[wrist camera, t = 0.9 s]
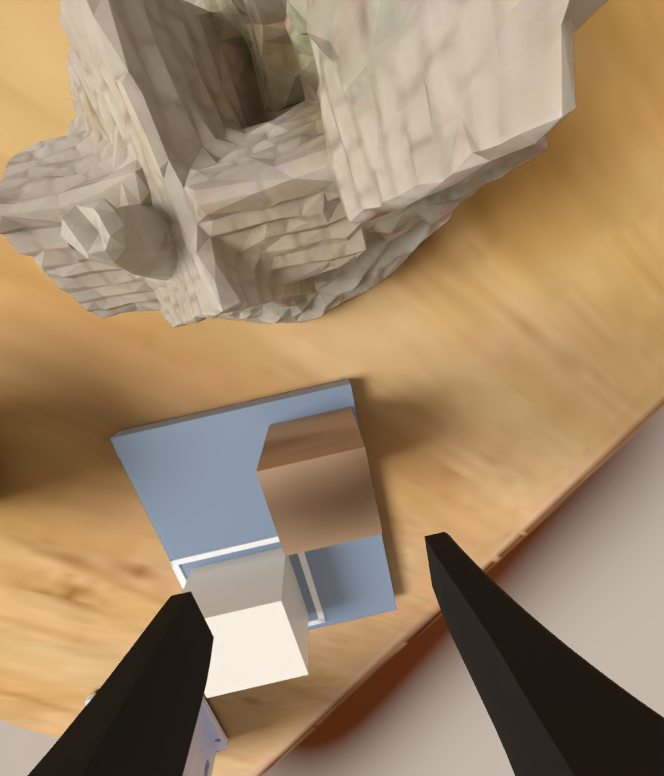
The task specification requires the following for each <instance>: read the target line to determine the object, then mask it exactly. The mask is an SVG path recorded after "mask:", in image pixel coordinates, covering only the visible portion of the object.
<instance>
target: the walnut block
mask: <svg viewBox="0 0 664 776" xmlns="http://www.w3.org/2000/svg"><path fill="white" fill-rule="evenodd" d="M256 473H257V476H258V479H259V482H260V485H261V488H262V491H263V494H264V497H265V500H266V502H267V505H268V508H269V511H270V514H271V517H272V520H273V523H274V526H275V529H276V532H277V535H278V538H279V541H280V543H281V546H282V549H283V552H284V555H285V556H288V555H293V554H297V553H301V552H306V551H310V550H314V549H319V548H323V547H327V546H332V545H336V544H340V543H345V542H349V541H353V540H358V539H362V538H366V537H371V536H375V535H379V534H383V532H382V527H381V522H380V517H379V513H378V508H377V503H376V498H375V493H374V488H373V483H372V478H371V473H370V468H369V463H368V458H367V454H366V449H365V445H364V442H363V440H362V437H361V434H360V431H359V428H358V426H357V423H356V420H355V417H354V415H353V412H352V409H351V406H350V407H345V408H341V409H337V410H332V411H328V412H324V413H319V414H315V415H310V416H306V417H302V418H297V419H293V420H288V421H284V422H280V423H275V424H271V425H269V427H268V431H267V435H266V438H265V442H264V445H263V449H262V452H261V456H260V459H259V463H258V467H257V470H256Z"/></svg>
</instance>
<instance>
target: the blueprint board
mask: <svg viewBox="0 0 664 776" xmlns="http://www.w3.org/2000/svg"><path fill="white" fill-rule="evenodd" d="M350 406H351V409H352V412H353V415H354V417H355V420H356V423H357V426H358V428H359V431H360V427H359V422H358V417H357V413H356V408H355V403H354V398H353V393H352V388H351V384H350V381H349V379H344V380H340V381H335V382H331V383H327V384H322V385H318V386H313V387H309V388H305V389H300V390H296V391H291V392H287V393H283V394H278V395H274V396H269V397H265V398H261V399H256V400H252V401H248V402H243V403H239V404H234V405H230V406H226V407H221V408H217V409H212V410H208V411H204V412H199V413H195V414H191V415H186V416H182V417H177V418H173V419H169V420H164V421H160V422H155V423H151V424H147V425H142V426H138V427H134V428H129V429H125V430H120V431H119V432H118V433H117V434H115V435H114V436H113V437H111V438H110V441H111V443H112V445H113V447H114V449H115V451H116V453H117V455H118V457H119V459H120V461H121V463H122V465H123V467H124V469H125V471H126V473H127V475H128V477H129V479H130V481H131V483H132V485H133V487H134V489H135V491H136V493H137V495H138V497H139V499H140V501H141V503H142V505H143V507H144V509H145V511H146V513H147V515H148V517H149V519H150V521H151V523H152V525H153V527H154V529H155V531H156V533H157V535H158V537H159V539H160V541H161V543H162V545H163V547H164V549H165V551H166V553H167V555H168V557H169V559H170V561H169V562H170V564H171V566H172V568H173V570H174V572H175V574H176V576H177V578H178V580H179V582H180V584H181V586H182V588H183V589H184V586H185V584H186V581H187V579H188V577H189V574H190V572H191V569H192V568H197V567H201V566H205V565H210V564H214V563H218V562H223V561H227V560H231V559H236V558H240V557H245V556H249V555H253V554H258V553H262V552H266V551H271V550H275V549H279V548H282V546H281V543H280V541H279V538H278V535H277V532H276V529H275V526H274V523H273V520H272V517H271V514H270V511H269V508H268V505H267V502H266V500H265V497H264V494H263V491H262V488H261V485H260V482H259V479H258V476H257V473H256V470H257V467H258V463H259V459H260V456H261V452H262V449H263V445H264V442H265V438H266V435H267V431H268V427H269V425H271V424H275V423H280V422H284V421H288V420H293V419H297V418H302V417H306V416H310V415H315V414H319V413H324V412H328V411H332V410H337V409H341V408H345V407H350ZM360 434H361V432H360ZM289 558H290V561H291V564H292V567H293V570H294V573H295V576H296V579H297V582H298V585H299V588H300V591H301V594H302V597H303V600H304V603H305V606H306V609H307V612H308V630H311V629H315V628H320V627H324V626H328V625H333V624H337V623H341V622H346V621H350V620H354V619H359V618H363V617H367V616H372V615H376V614H380V613H385V612H389V611H393V610H397V607H396V603H395V598H394V593H393V588H392V583H391V578H390V573H389V568H388V564H387V559H386V554H385V549H384V544H383V539H382V534H379V535H375V536H371V537H366V538H362V539H358V540H353V541H349V542H345V543H340V544H336V545H332V546H327V547H323V548H319V549H314V550H310V551H306V552H301V553H297V554H293V555H289Z"/></svg>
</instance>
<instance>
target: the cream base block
mask: <svg viewBox="0 0 664 776" xmlns="http://www.w3.org/2000/svg"><path fill="white" fill-rule="evenodd" d="M190 591H191V592H192V594H193V596H194V598H195V600H196V602H197V604H198V606H199V608H200V610H201V612H202V614H203V616H204V618H205V620H206V622H207V624H208V626H209V628H210V630H211V632H212V634H213V636H214V640H213V647H212V654H211V661H210V667H209V673H208V678H207V683H206V687H205V691H204V694H205V696H206V697H207V698H210V697H214V696H218V695H223V694H227V693H231V692H235V691H240V690H244V689H248V688H253V687H257V686H261V685H266V684H270V683H274V682H279V681H283V680H287V679H291V678H296V677H300V676H304V675H308V612H307V609H306V606H305V603H304V600H303V597H302V594H301V591H300V588H299V585H298V582H297V579H296V576H295V573H294V570H293V567H292V564H291V561H290V558H289V555H288V556H285V555H284V552H283V549H282V548H279V549H275V550H271V551H266V552H262V553H258V554H253V555H249V556H245V557H240V558H236V559H231V560H227V561H223V562H218V563H214V564H210V565H205V566H201V567H197V568H192V569H191V572H190V574H189V577H188V579H187V581H186V584H185V586H184V589H183V591H182V593H186V592H190Z"/></svg>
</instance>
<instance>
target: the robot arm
mask: <svg viewBox="0 0 664 776" xmlns="http://www.w3.org/2000/svg"><path fill="white" fill-rule="evenodd" d="M425 542H426V549H427V555H428V562H429V568H430V574H431V581H432V587H433V589H434V592H435V595H436V598H437V600H438V603H439V606H440V608H441V611H442V614H443V616H444V619H445V622H446V624H447V627H448V629H449V631H450V633H451V635H452V637H453V640H454V642H455V644H456V646H457V648H458V650H459V652H460V654H461V656H462V659H463V661H464V663H465V665H466V667H467V669H468V671H469V673H470V675H471V678H472V680H473V682H474V684H475V686H476V688H477V690H478V692H479V694H480V697H481V699H482V701H483V703H484V705H485V707H486V709H487V712H488V714H489V716H490V718H491V720H492V722H493V724H494V726H495V729H496V731H497V733H498V735H499V738H500V740H501V742H502V744H503V747H504V749H505V751H506V754H507V756H508V759H509V761H510V764H511V766H512V769H513V771H514V774H515V776H664V718H663V717H662V716H660V715H659V714H658V713H656V712H655V711H653V710H652V709H651V708H649V707H647V706H646V705H645V704H643V703H642V702H640V701H639V700H638V699H636V698H635V697H634V696H632V695H631V694H629V693H628V692H627V691H625V690H624V689H623V688H621V687H620V686H619V685H617V684H616V683H615V682H613V681H612V680H611V679H609V678H608V677H607V676H605V675H604V674H603V673H601V672H600V671H599V670H597V669H596V668H595V667H593V666H592V665H591V664H590V663H588V662H587V661H586V660H585V659H583V658H582V657H581V656H579V655H578V654H577V653H575V652H574V651H573V650H572V649H571V648H569V647H568V646H567V645H566V644H564V643H563V642H562V641H561V640H559V639H558V638H557V637H556V636H555V635H553V634H552V633H551V632H550V631H549V630H547V629H546V628H545V627H544V626H542V624H540V623H539V622H538V621H537V620H536V619H535V618H533V617H532V616H531V615H530V614H529V613H528V612H526V611H525V610H524V609H523V608H522V607H521V606H520V605H519V604H517V603H516V602H515V601H514V600H513V599H512V598H511V597H510V596H509V595H508V594H507V593H506V592H505V591H503V590H502V589H501V588H500V587H499V586H498V585H497V584H496V583H495V582H494V581H493V580H492V579H491V578H490V577H489V576H488V575H487V574H486V573H485V572H483V571H482V570H481V569H480V568H479V566H478V565H477V564H476V563H475V562H474V561H473V560H472V559H471V558H470V557H469V556H468V555H467V554H466V553H465V552H464V551H463V550H462V549H461V548H460V547H459V546H458V545H457V543H456V542H455V541H454V540H453V539H452V538H451V537H450V536H449V534H447V533H445V532H442V533H438V534H433V535H429V536H425ZM213 640H214V636H213V634H212V632H211V630H210V628H209V626H208V624H207V622H206V620H205V618H204V616H203V614H202V612H201V610H200V608H199V606H198V604H197V602H196V600H195V598H194V596H193V594H192V592H191V591H190V592H186V593H181V594H177V595H173V596H171V597H170V598H169V599H168V601H167V602H166V603H165V604H164V606H163V607H162V608H161V610H160V611H159V612H158V613H157V615H156V616H155V617H154V619H153V620H152V621H151V623H150V624H149V625H148V627H147V628H146V629H145V631H144V632H143V633H142V635H141V636H140V637H139V639H138V640H137V641H136V642H135V644H134V645H133V646H132V648H131V649H130V650H129V652H128V653H127V654H126V656H125V657H124V658H123V659H122V661H121V662H120V663H119V665H118V666H117V667H116V669H115V670H114V671H113V672H112V674H111V675H110V676H109V678H108V679H107V680H106V682H105V683H104V684H103V685H102V687H101V688H100V689H99V690H98V692H97V693H95V694H91V695H89V696H88V698H87V700H86V701H85V705H86V706H85V708H84V709H83V710H82V711H81V713H80V714H79V715H78V716H77V718H76V719H75V720H74V721H73V722H72V724H71V725H70V726H69V727H68V729H67V730H66V731H65V732H64V734H63V735H62V736H61V737H60V738H59V740H58V741H57V742H56V743H55V744H54V746H53V747H52V748H51V749H50V750H49V752H48V753H47V754H46V755H45V756H44V757H43V759H42V760H41V761H40V762H39V763H38V764H37V766H36V767H35V768H34V769H33V770H32V771H31V772H30V774H29V775H28V776H211V775H212V770H213V765H214V760H215V755H216V752H219V751H223V750H225V749H226V748H227V747H228V739H227V737H226V735H225V734H224V732H223V730H222V728H221V726H220V725H219V723H218V721H217V719H216V717H215V716H214V714H213V712H212V710H211V708H210V707H209V705H208V703H207V701H206V699H205V698H204V696H203V695H204V691H205V687H206V683H207V678H208V673H209V667H210V661H211V654H212V647H213Z"/></svg>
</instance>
